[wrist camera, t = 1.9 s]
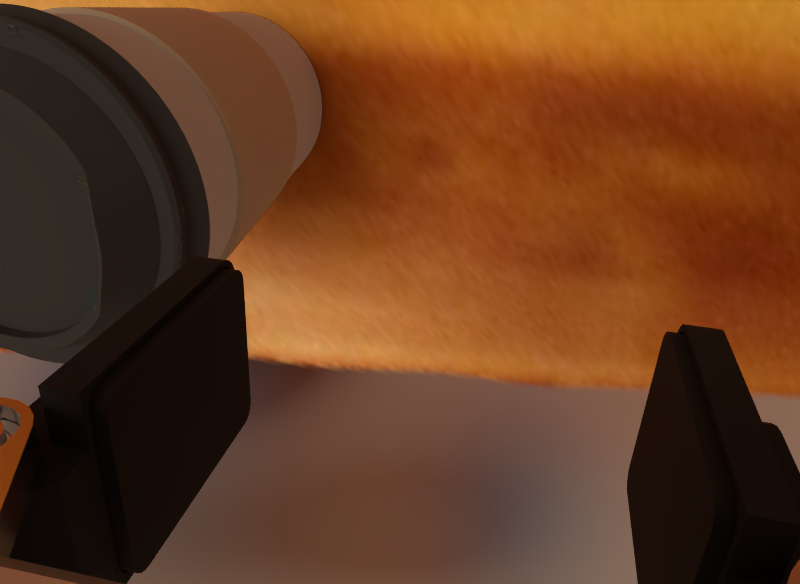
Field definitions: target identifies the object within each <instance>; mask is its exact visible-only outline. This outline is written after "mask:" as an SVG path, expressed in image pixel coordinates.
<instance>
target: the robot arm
mask: <svg viewBox="0 0 800 584" xmlns="http://www.w3.org/2000/svg"><path fill="white" fill-rule="evenodd" d="M38 388H39V391H40V396H41V397H39V398H38V399H37V400H36V401H35V402H33V403H32V404H31V405H30V406H27V405H25V404H24V403H22V402H20V401H18V400H13V399H8V398H0V584H127V582H128V581H129V579H130V578H131V576H132V575H133V573H134V572H135V573H142V572H143V571H145V570H146V568H147V567H148V566H149V565H150V563H151V562H152V560H153V559H154V557H155V556H156V554H157V553H158V551H159V550H160V548H161V547H162V545H163V544H164V542H165V541H166V540H167V538H168V537H169V535H170V533H171V532H172V531H173V529H174V528H175V526H176V525H177V523H178V522H179V520H180V519H181V517H182V516H183V514H184V513H185V511H186V510H187V508H188V507H189V505H190V504H191V502H192V501H193V500H194V498H195V497H196V495H197V494H198V492H199V491H200V489H201V488H202V486H203V485H204V483H205V482H206V480H207V479H208V477H209V475H210V474H211V473H212V471H213V470H214V468H215V467H216V465H217V464H218V462H219V461H220V460H221V458H222V457H223V455H224V454H225V452H226V450H227V449H228V447H229V446H230V445H231V443H232V442H233V440H234V439H235V437H236V436H237V434H238V432H239V431H240V430H241V428H242V427H243V425H244V424H245V422H246V420H247V418H248V415H249V411H250V405H251V401H250V400H251V398H250V383H249V365H248V349H247V333H246V316H245V300H244V284H243V276H242V273H241V272H240V271H239V270H234V267H233V265H232V263H231V262H230V261H228V260H221V259H214V258H207V257H200V256H196V257H194V258H192V259H191V260H190V261H188V262H187V263H186V264H185V265H184V266H182V267H181V268H180V269H179V270H178V271H176V272H175V273H174V274H173V275H171V276H170V277H169V278H168V279H167V280H165V281H164V282H163V283H162V284H161V285H159V286H158V287H157V288H156V289H155V290H153V291H152V292H151V293H150V294H149V295H147V296H146V297H145V298H144V299H143V300H141V301H140V302H139V303H138V304H136V305H135V306H134V307H133V308H132V309H130V310H129V311H128V312H127V313H126V314H124V315H123V316H122V317H121V318H120V319H118V320H117V321H116V322H115V323H114V324H112V325H111V326H110V327H109V328H108V329H106V330H105V331H104V332H103V333H101V334H100V335H99V336H98V337H97V338H95V339H94V340H93V341H92V342H91V343H89V344H88V345H87V346H86V347H85V348H83V349H82V350H81V351H80V352H79V353H77V354H76V355H75V356H74V357H73V358H71V359H70V360H69V361H68V362H66V363H65V364H64V365H63V366H62V367H61V368H59V369H58V370H57V371H56V372H54V373H53V374H52V375H51V376H50V377H48V378H47V379H46V380H45V381H44V382H42V383H41V384H40V385H39V386H38ZM627 494H628V503H629V511H630V519H631V528H632V537H633V546H634V554H635V563H636V571H637V580H638V584H800V473H799V471H798V468H797V466H796V464H795V462H794V459H793V457H792V455H791V453H790V451H789V448H788V446H787V444H786V442H785V439H784V437H783V435H782V433H781V431H780V430H779V428H778V427H777V426H776V425H774V424H772V423H766V422H762V421H761V419H760V416H759V414H758V411H757V409H756V406H755V404H754V402H753V399H752V397H751V395H750V392H749V390H748V387H747V385H746V383H745V380H744V378H743V376H742V373H741V371H740V368H739V366H738V364H737V361H736V359H735V356H734V354H733V352H732V349H731V347H730V345H729V342H728V340H727V337H726V335H725V333H724V331H723V330H720V329H713V328H706V327H698V326H691V325H684V324H683V325H682V326H681V327H680V328H679V330H678V333H674V332H666V333H665V335H664V338H663V341H662V345H661V349H660V352H659V356H658V360H657V364H656V368H655V372H654V375H653V379H652V383H651V387H650V391H649V394H648V398H647V402H646V406H645V410H644V414H643V417H642V421H641V425H640V429H639V433H638V436H637V440H636V444H635V448H634V452H633V455H632V459H631V463H630V467H629V472H628V480H627Z"/></svg>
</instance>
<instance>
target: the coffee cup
mask: <svg viewBox="0 0 800 584" xmlns="http://www.w3.org/2000/svg"><path fill="white" fill-rule="evenodd" d="M321 121H322V97H321V91H320V86H319V82H318V79H317V76H316V73H315V71H314V68H313V66H312V64H311V62H310V60H309V59H308V57H307V55H306V54H305V52H304V51H303V49H302V48H301V47H300V45H299V44H298V43H297V42H296V41H295V40H294V39H293V37H291V36H290V35H289V34H288V33H287V32H286V31H285V30H283V29H282V28H281V27H279V26H278V25H276V24H275V23H273V22H271V21H269V20H267V19H265V18H263V17H260V16H257V15H254V14H250V13H244V12H207V11H203V10H198V9H192V8H120V7H61V8H52V9H46V10H42V11H41V10H37V9H33V8H29V7H25V6H19V5H12V4H0V348H5V349H9V350H12V351H15V352H17V353H20V354H22V355H25V356H29V357H32V358H36V359H39V360H44V361H49V362H55V363H64V364H65V363H66V362H68V361H69V360H70V359H71V358H73V357H74V356H75V355H76V354H77V353H79V352H80V351H81V350H82V349H83V348H85V347H86V346H87V345H88V344H89V343H91V342H92V341H93V340H94V339H95V338H97V337H98V336H99V335H100V334H101V333H103V332H104V331H105V330H106V329H108V328H109V327H110V326H111V325H112V324H114V323H115V322H116V321H117V320H118V319H120V318H121V317H122V316H123V315H124V314H126V313H127V312H128V311H129V310H130V309H132V308H133V307H134V306H135V305H136V304H138V303H139V302H140V301H141V300H143V299H144V298H145V297H146V296H147V295H149V294H150V293H151V292H152V291H153V290H155V289H156V288H157V287H158V286H159V285H161V284H162V283H163V282H164V281H165V280H167V279H168V278H169V277H170V276H171V275H173V274H174V273H175V272H176V271H178V270H179V269H180V268H181V267H182V266H184V265H185V264H186V263H187V262H188V261H190V260H191V259H192V258H194V257H196V256H200V257H207V258H214V259H221V260H226V259H227V258H228V257H229V255H230V254H231V253H232V252H233V250H234V249H235V248H236V247H237V246H238V244H239V243H240V242H241V241H242V239H243V238H244V237H245V236H246V235H247V233H248V232H249V231H250V230H251V228H252V227H253V226H254V225H255V224H256V222H257V221H258V220H259V219H260V217H261V216H262V215H263V214H264V213H265V211H266V210H267V209H268V208H269V206H270V205H271V204H272V203H273V202H274V200H275V199H276V198H277V197H278V195H279V194H280V193H281V191H282V190H283V188H284V186H285V184H286V182H287V180H288V179H289V178H290V176H291V175H292V174H293V173H294V172H295V171H296V169H297V168H298V167H299V166H300V165H301V164H302V163H303V161H304V160H305V159H306V158H307V156H308V155H309V154H310V152H311V150H312V149H313V147H314V145H315V143H316V140H317V138H318V135H319V131H320V127H321Z"/></svg>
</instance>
